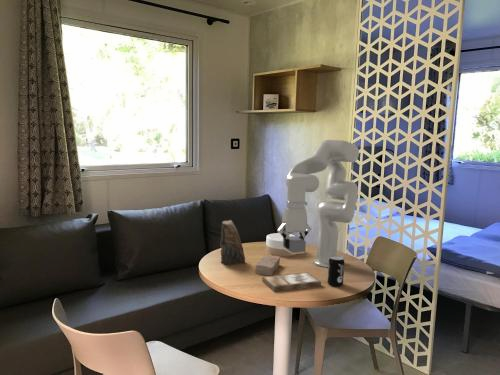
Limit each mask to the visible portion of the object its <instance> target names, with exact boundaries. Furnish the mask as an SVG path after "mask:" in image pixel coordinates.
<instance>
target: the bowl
mask: <svg viewBox="0 0 500 375" xmlns="http://www.w3.org/2000/svg"><path fill="white" fill-rule="evenodd" d="M290 236H295V235H294V234H292V233H290ZM265 242H266V243H265V244H266V246H265V251H266V253H267V254H269V255H270V256H278V257H292V256H295V255H296V254H291V253H290V252H288V251H286V250H285V249H283V236H282V235H281V234H280V233H279V232H277V233H275V232H274V233H270V234H267V235H266V240H265Z"/></svg>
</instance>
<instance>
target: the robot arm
mask: <svg viewBox="0 0 500 375" xmlns="http://www.w3.org/2000/svg"><path fill="white" fill-rule="evenodd" d="M359 156H360V151H359V147H358V146H357V145H356V144H354V143H352V142H349V141H347V140H343V139H341V140H339V139H326V140H322V142H321V143H320V144H319V145H318V147H317V148H316V149H315V150H314V152H313V154H312V155H311V157H308V158H306V159H304V160H302V161H299V162H298V163H297V164H295V165H294V166H293V167H292V168H291V170H290V171H289V173H288V174H287V176H286V180H285V185H286V189H287V192H286V207H285V208H284V210H283V213H282V219H281V220H282V221H281V225H280V226H279V227H278V229H277V233H280V234H281V235H282V236H283V238H284V246H285V247H286V248H287V249H289V239H288V238H289V236H290V234H292V233H299V236H298V237H299V238H300V239H302V240H304V241H305V238H306V237H307V235H308V234H309V233H310V232H311V231H312V228H311V226H310V225H309V224H308V214H307V209H306V206H308V202H307V201H306V193H313V192H315V191H317V190H319V189H318V188H319V187H320V180H319V177H317V176H316V175H314V174H317V173H320V172H323V171H325V170H326V169H327V168H328V172H327V177H326V178H327V179H326V183H325V189H324V194H325V196H326V198H328V199H331V200H324V201H322V202H319V205H318V207H317V215H318V236H317V237H318V239H317V255H316V258H314V259H313V264H315V265H316V266H319V267H325V268H328V265H329V259H330V256H341V257H343V258H344V260H345V259H346V257H345V255H340V254H338V241H339V228H338V225H337V223H343V224H349V223H351V222H352V221H353V220H354V217H355V212H356V205H357V200H358V196H359V189H358V185H357V184H356V183H355V182H354V181H347V180H346V175H347V171H346V168H345V166H344V165H343V162H344V163H354V162H356V161H357V160H358V158H359ZM333 200H336V201H333ZM337 200H338V201H337ZM339 200H340V201H344V202H339Z"/></svg>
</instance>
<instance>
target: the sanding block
mask: <svg viewBox="0 0 500 375" xmlns="http://www.w3.org/2000/svg"><path fill="white" fill-rule="evenodd" d="M299 237H300V236H296V235H294V236H289V238H288V239H289V249H287V248H286V247H285V246H284V238H283V249H285V250H286V251H288V252H290V253H291V254H295V255H300V254H305V253H306V246H307V245H306V244H307V243H306V242H307V241H305V239H304V240H302V239H300V238H299Z"/></svg>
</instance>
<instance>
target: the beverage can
mask: <svg viewBox="0 0 500 375" xmlns="http://www.w3.org/2000/svg"><path fill="white" fill-rule="evenodd" d="M341 256H342V255H340V256H330V259H329V265H328V267H327V283H328V285H329V286H330V287H336V288H337V287H342V286H343V285H344V276H345V274H344V273H345V259H344V258H343V257H341Z"/></svg>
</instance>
